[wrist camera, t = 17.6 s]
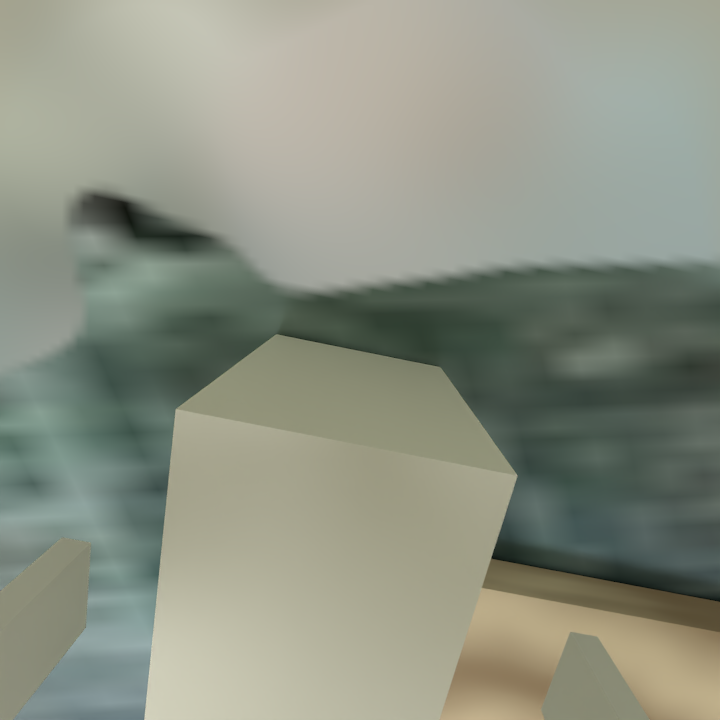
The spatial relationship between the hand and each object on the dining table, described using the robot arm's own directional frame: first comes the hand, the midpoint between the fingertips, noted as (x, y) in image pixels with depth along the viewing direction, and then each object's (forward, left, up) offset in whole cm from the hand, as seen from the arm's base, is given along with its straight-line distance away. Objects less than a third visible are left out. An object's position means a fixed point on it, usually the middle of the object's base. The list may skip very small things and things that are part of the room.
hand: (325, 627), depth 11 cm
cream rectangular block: (0, 0, -7) cm, 8 cm away
